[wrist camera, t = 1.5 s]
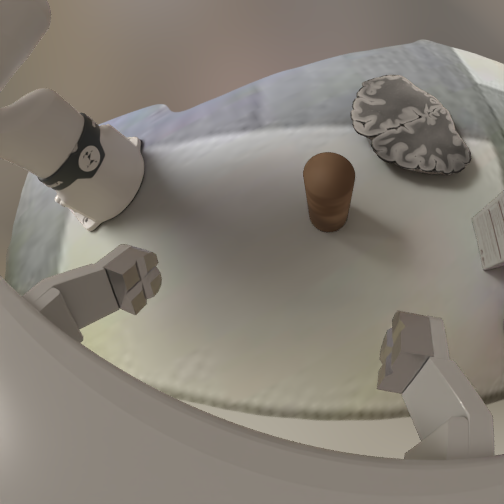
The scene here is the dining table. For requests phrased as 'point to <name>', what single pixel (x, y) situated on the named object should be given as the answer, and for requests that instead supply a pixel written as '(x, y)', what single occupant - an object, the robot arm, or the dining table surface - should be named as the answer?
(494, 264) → the supplement box
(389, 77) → the brain slice
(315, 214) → the walnut pepper mill
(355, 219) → the dining table surface
